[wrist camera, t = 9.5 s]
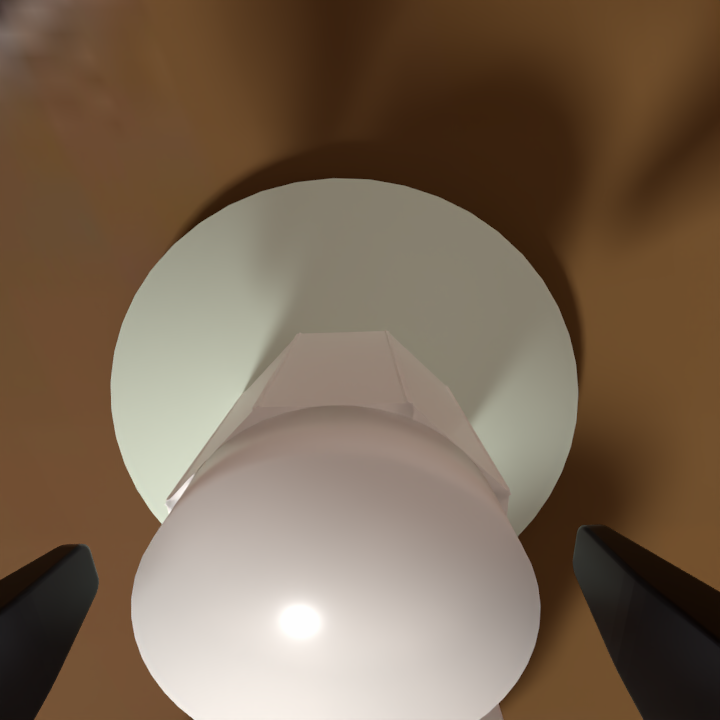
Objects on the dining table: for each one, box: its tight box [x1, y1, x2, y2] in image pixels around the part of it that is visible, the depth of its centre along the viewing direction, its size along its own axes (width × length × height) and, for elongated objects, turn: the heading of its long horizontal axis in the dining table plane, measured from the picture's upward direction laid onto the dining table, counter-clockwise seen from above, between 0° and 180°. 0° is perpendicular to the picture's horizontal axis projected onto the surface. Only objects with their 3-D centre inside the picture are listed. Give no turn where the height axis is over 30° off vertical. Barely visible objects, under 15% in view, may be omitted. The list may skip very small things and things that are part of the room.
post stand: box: [111, 178, 578, 537], centre depth 10 cm, size 14×14×6 cm
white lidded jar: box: [131, 330, 541, 720], centre depth 9 cm, size 6×6×6 cm
